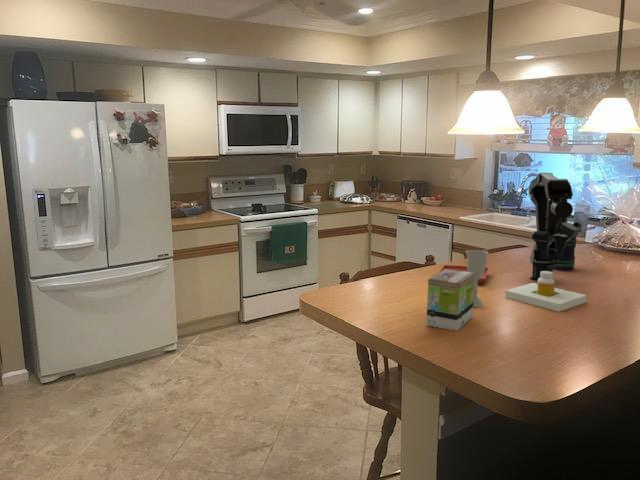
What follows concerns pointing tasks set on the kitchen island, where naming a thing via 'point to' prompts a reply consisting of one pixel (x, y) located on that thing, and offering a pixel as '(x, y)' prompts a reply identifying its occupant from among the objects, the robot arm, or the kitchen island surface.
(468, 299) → the tea box
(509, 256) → the kitchen island surface
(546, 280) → the supplement bottle
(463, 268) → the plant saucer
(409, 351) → the kitchen island surface
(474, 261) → the chalice
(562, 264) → the storage jar
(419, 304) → the kitchen island surface
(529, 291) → the socket board
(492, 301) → the kitchen island surface
